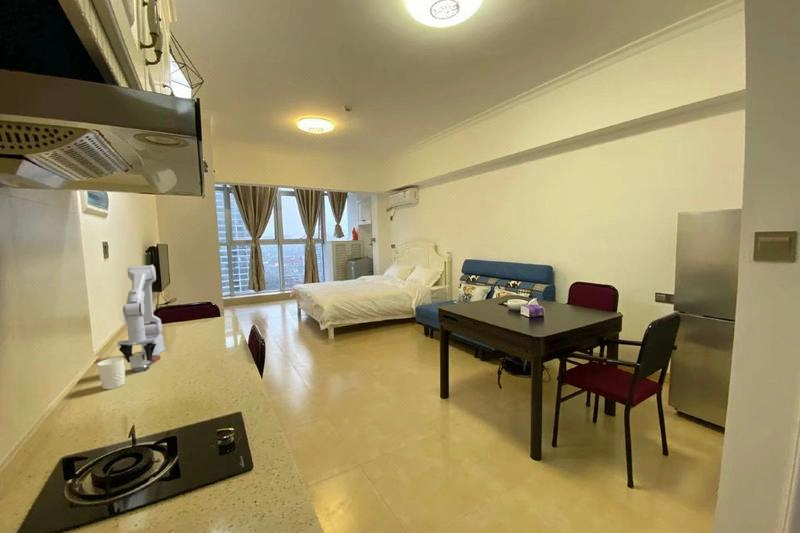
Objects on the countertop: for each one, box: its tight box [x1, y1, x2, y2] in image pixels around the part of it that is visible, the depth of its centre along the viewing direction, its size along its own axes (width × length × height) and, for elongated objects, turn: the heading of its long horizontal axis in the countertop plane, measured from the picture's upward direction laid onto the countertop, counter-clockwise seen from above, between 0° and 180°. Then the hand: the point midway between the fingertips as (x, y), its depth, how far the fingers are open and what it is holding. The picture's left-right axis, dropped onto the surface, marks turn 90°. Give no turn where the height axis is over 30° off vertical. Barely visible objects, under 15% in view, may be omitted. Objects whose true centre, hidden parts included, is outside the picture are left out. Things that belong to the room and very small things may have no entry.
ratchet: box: [130, 354, 161, 374], centre depth 147 cm, size 15×6×4 cm, turn 9°
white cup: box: [96, 357, 126, 390], centre depth 127 cm, size 8×8×10 cm
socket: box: [129, 351, 150, 369], centre depth 142 cm, size 5×5×5 cm
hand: (139, 360), depth 142 cm, fingers open, 7 cm apart
